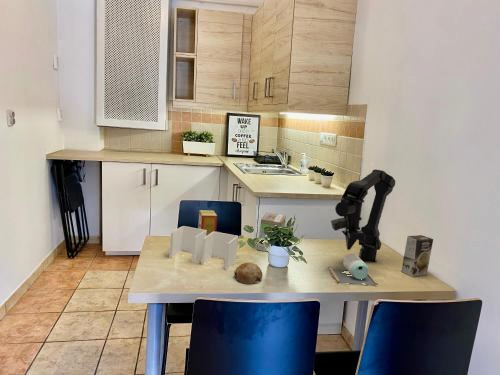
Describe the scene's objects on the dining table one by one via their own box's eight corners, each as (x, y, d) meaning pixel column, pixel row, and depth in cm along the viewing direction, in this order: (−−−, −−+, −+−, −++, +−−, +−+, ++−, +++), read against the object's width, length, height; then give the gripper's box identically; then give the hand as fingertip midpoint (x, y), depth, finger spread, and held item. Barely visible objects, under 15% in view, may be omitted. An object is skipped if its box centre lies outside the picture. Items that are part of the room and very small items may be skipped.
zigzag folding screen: (235, 261, 168) (238, 235, 166) (226, 270, 158) (229, 243, 156) (181, 250, 175) (183, 225, 173) (169, 258, 164) (170, 232, 162)
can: (339, 261, 169) (348, 272, 157) (351, 249, 168) (361, 260, 156) (350, 272, 170) (360, 284, 158) (362, 260, 169) (373, 271, 158)
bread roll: (246, 295, 146) (257, 278, 143) (226, 276, 149) (236, 260, 146) (260, 286, 154) (270, 271, 151) (241, 268, 158) (250, 253, 155)
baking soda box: (214, 250, 178) (217, 215, 176) (199, 250, 177) (202, 214, 174) (210, 243, 187) (213, 209, 184) (196, 243, 186) (199, 209, 183)
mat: (365, 272, 169) (366, 269, 169) (377, 286, 155) (378, 283, 155) (328, 269, 168) (328, 266, 168) (336, 283, 154) (337, 280, 154)
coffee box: (412, 277, 168) (419, 240, 165) (400, 271, 173) (406, 235, 171) (427, 275, 172) (434, 239, 169) (415, 269, 178) (421, 234, 175)
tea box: (278, 253, 182) (282, 222, 179) (256, 250, 183) (260, 218, 181) (282, 244, 196) (286, 214, 193) (262, 241, 198) (265, 211, 195)
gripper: (328, 206, 175) (324, 241, 178) (340, 217, 157) (335, 256, 159) (354, 208, 176) (349, 243, 178) (368, 220, 157) (362, 258, 160)
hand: (348, 249), depth 169 cm, fingers closed
